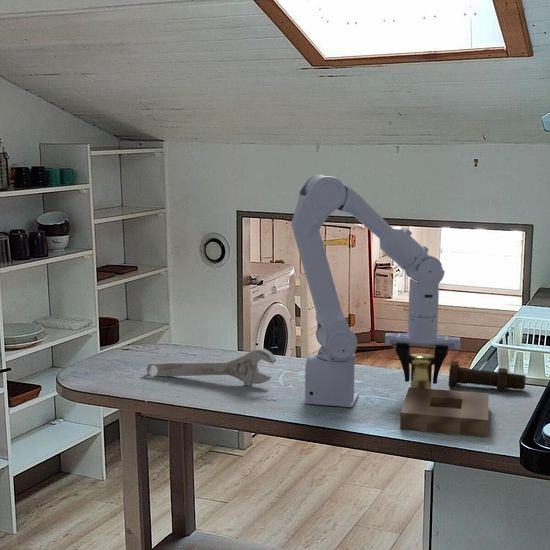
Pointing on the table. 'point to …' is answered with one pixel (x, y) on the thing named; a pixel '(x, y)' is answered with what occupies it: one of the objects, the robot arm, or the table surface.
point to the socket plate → (445, 411)
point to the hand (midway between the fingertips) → (421, 381)
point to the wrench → (220, 367)
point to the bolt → (485, 377)
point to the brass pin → (421, 370)
